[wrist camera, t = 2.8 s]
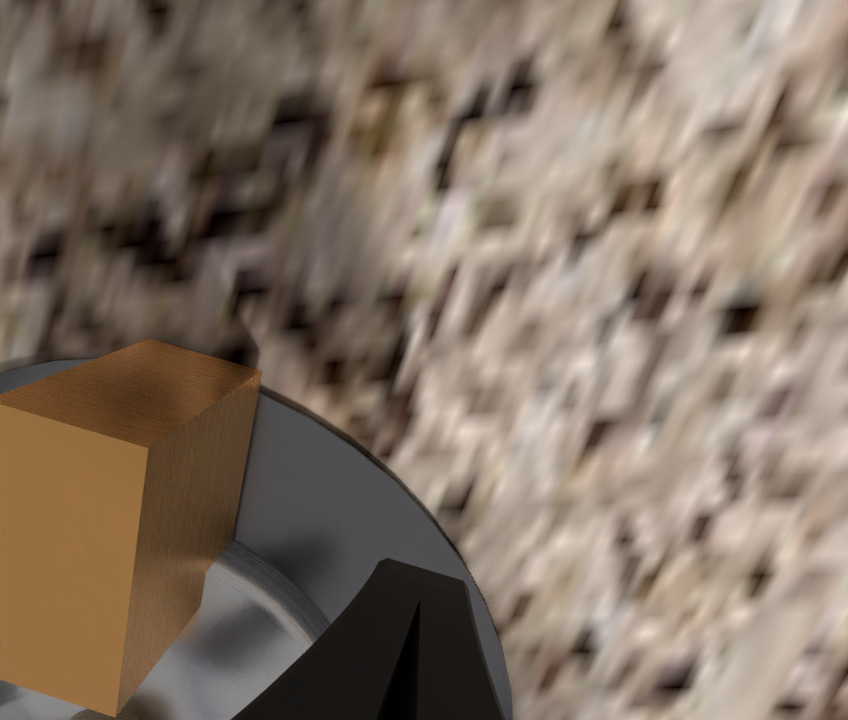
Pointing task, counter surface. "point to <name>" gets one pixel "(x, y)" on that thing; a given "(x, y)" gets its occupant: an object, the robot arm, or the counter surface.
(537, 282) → the counter surface
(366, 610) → the robot arm
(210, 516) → the flange plate
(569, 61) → the counter surface
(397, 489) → the post base
